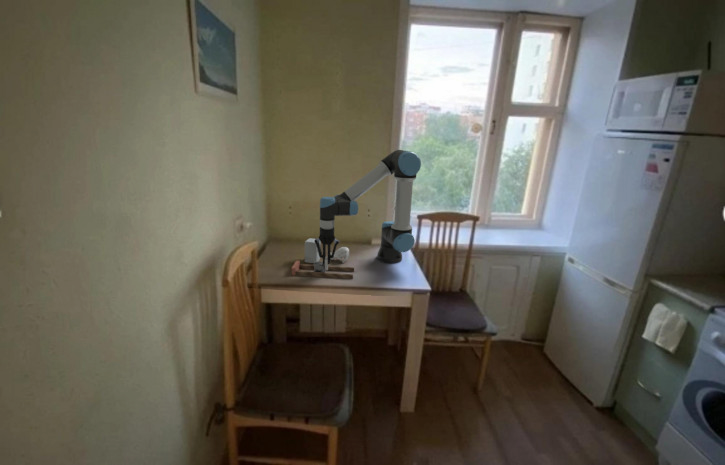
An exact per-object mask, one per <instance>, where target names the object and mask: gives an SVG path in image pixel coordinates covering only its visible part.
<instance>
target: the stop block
mask: <svg viewBox="0 0 725 465" xmlns="http://www.w3.org/2000/svg"><path fill="white" fill-rule="evenodd" d="M293 263H294V264H293V265H292V267H291V276H296V275H295V272H296V271H300V268H299V265H300V264H301V260H295V262H293Z"/></svg>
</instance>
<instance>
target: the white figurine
mask: <svg viewBox="0 0 725 465" xmlns="http://www.w3.org/2000/svg"><path fill="white" fill-rule="evenodd" d="M332 252H333V251H331V255H332ZM349 256H350V248H348V247H347V246H341V247H339V248H338V249H336V250H335V253H334V257H333V258H330V260H331V261H334V260H335V259H338V260H340V261H341V263H342V264H344V263H345V262H346V261H348V259H349Z"/></svg>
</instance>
